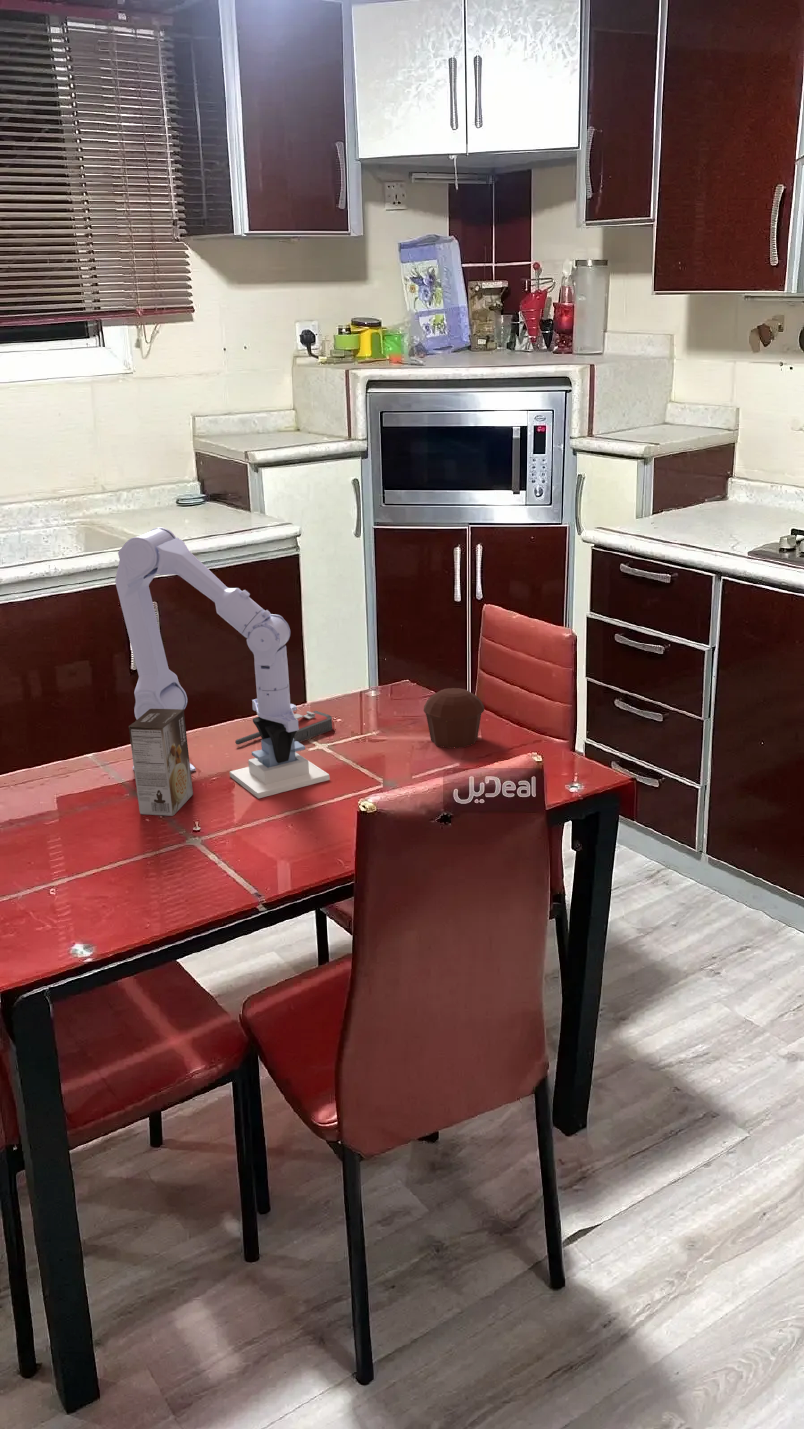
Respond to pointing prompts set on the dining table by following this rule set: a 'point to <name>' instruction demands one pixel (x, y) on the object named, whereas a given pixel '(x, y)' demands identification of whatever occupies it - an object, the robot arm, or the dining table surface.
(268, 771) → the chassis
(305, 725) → the walkie-talkie
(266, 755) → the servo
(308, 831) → the dining table surface
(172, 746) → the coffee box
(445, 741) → the muffin
